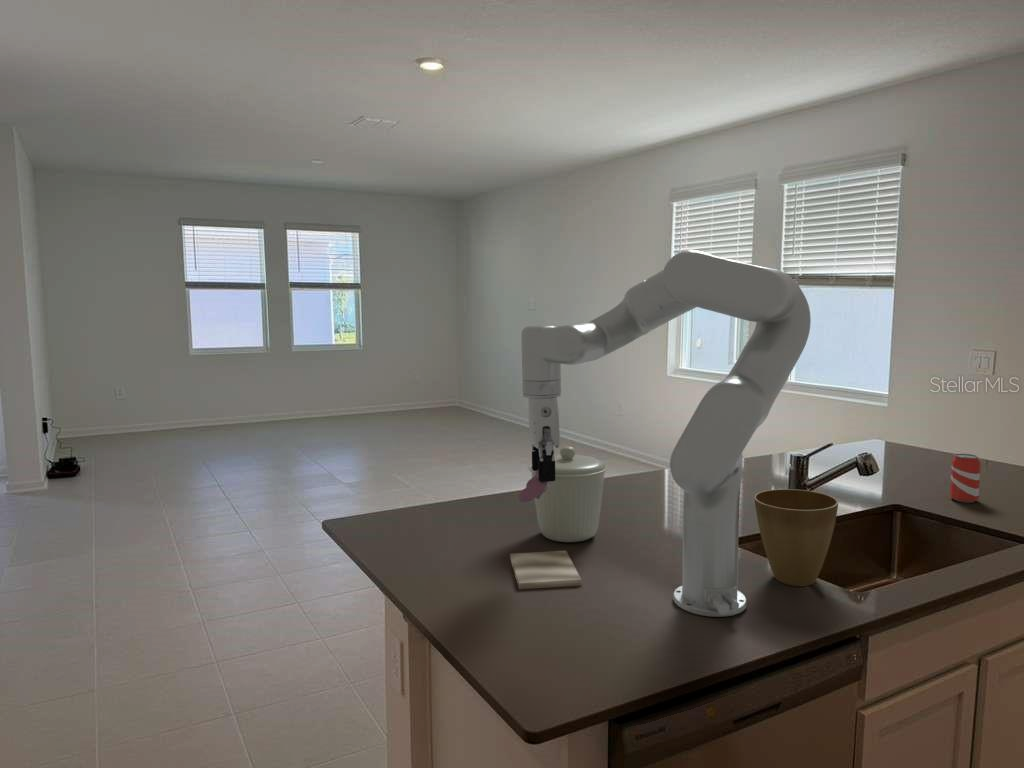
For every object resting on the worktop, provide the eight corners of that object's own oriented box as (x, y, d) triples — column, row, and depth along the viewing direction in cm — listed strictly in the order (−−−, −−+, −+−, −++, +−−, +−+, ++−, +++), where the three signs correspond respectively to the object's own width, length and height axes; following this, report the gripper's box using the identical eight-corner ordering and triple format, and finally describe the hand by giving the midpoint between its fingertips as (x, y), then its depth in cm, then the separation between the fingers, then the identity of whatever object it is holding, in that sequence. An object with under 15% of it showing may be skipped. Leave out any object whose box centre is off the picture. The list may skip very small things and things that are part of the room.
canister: (543, 553, 153) (542, 457, 151) (520, 527, 170) (518, 442, 168) (620, 544, 158) (620, 451, 155) (590, 520, 175) (589, 436, 173)
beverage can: (977, 504, 182) (979, 459, 181) (948, 501, 186) (950, 456, 184) (979, 499, 187) (981, 454, 185) (950, 495, 191) (953, 452, 189)
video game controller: (537, 511, 136) (552, 480, 135) (516, 500, 137) (531, 469, 135) (544, 497, 146) (559, 468, 144) (525, 487, 146) (539, 457, 145)
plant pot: (812, 563, 144) (815, 486, 142) (850, 593, 129) (854, 508, 128) (741, 565, 144) (742, 489, 142) (771, 596, 129) (773, 510, 127)
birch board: (581, 585, 135) (581, 579, 135) (519, 589, 134) (519, 583, 134) (566, 555, 151) (565, 550, 151) (510, 559, 150) (510, 553, 149)
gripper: (569, 393, 130) (570, 485, 132) (553, 383, 147) (554, 465, 149) (528, 394, 129) (530, 487, 131) (517, 384, 146) (519, 466, 148)
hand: (543, 475), depth 140 cm, fingers closed on video game controller, 8 cm apart
